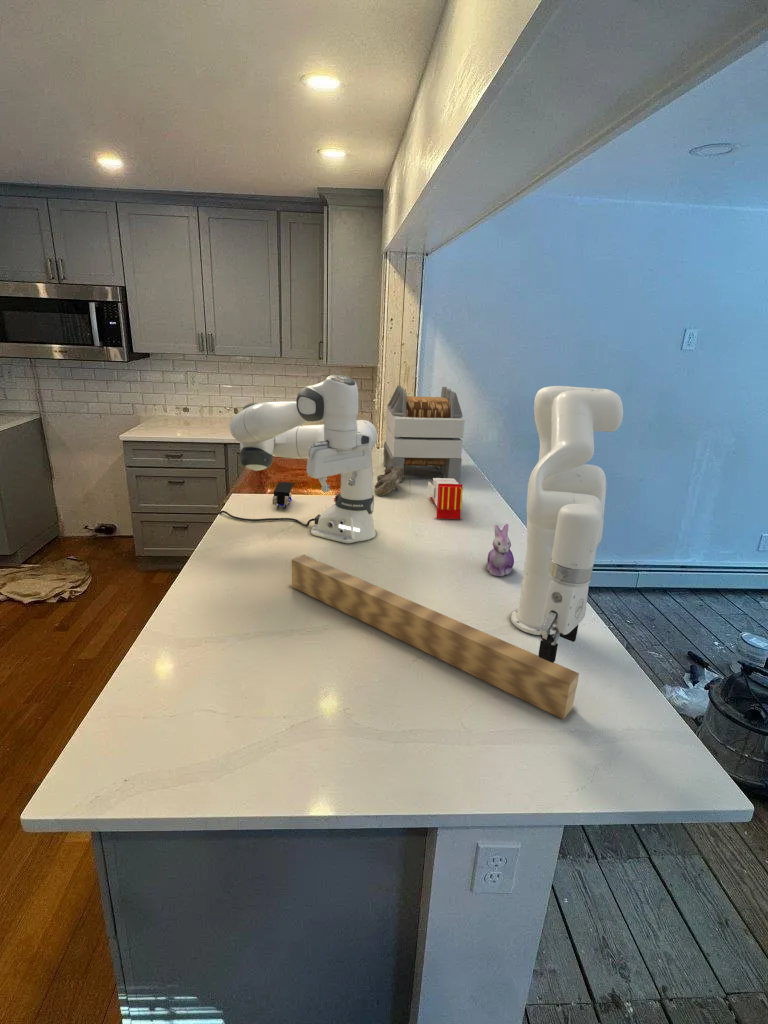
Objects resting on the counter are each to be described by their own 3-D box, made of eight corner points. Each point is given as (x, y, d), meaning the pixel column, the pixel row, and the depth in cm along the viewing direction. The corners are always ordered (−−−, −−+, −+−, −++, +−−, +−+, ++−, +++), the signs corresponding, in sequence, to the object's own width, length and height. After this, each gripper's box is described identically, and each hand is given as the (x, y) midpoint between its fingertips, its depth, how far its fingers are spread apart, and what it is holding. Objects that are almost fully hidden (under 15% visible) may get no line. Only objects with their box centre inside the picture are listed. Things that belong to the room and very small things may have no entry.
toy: (455, 474, 240) (467, 485, 211) (453, 505, 243) (464, 520, 214) (426, 473, 240) (434, 484, 211) (425, 504, 243) (432, 519, 213)
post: (291, 586, 159) (291, 559, 156) (303, 581, 162) (303, 554, 160) (563, 719, 112) (570, 683, 109) (572, 708, 115) (579, 673, 112)
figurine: (497, 580, 168) (503, 533, 163) (477, 566, 177) (482, 521, 172) (522, 574, 173) (529, 528, 167) (501, 561, 181) (506, 517, 176)
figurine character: (289, 514, 217) (294, 497, 231) (289, 496, 214) (294, 480, 227) (272, 513, 217) (278, 497, 230) (271, 495, 214) (277, 480, 227)
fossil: (373, 472, 257) (399, 454, 252) (386, 488, 260) (412, 470, 255) (367, 491, 238) (396, 472, 233) (381, 508, 240) (410, 490, 235)
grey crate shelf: (382, 463, 289) (386, 382, 275) (445, 464, 293) (451, 384, 279) (390, 482, 257) (394, 392, 243) (460, 483, 261) (468, 394, 247)
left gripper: (316, 445, 141) (316, 498, 146) (376, 436, 155) (374, 485, 159) (301, 440, 145) (301, 492, 150) (360, 432, 159) (359, 479, 164)
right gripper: (571, 592, 97) (556, 676, 103) (607, 562, 110) (592, 638, 116) (531, 578, 102) (519, 659, 107) (569, 551, 114) (557, 625, 120)
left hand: (339, 488), depth 155 cm, fingers open, 8 cm apart
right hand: (557, 648), depth 111 cm, fingers open, 9 cm apart
